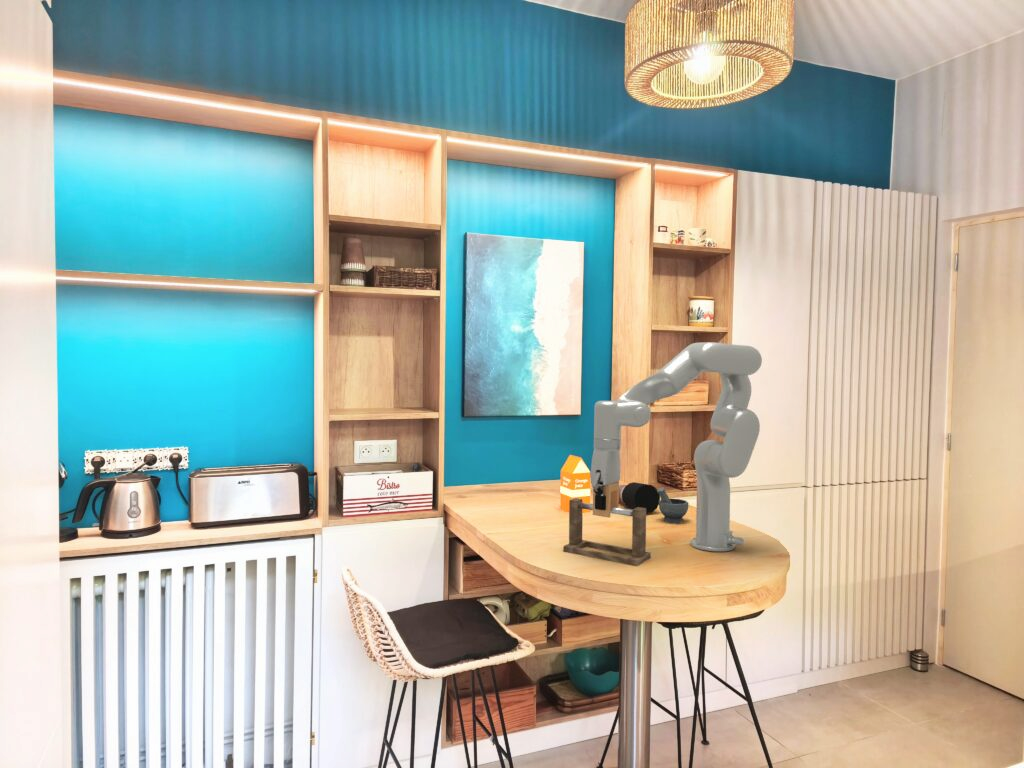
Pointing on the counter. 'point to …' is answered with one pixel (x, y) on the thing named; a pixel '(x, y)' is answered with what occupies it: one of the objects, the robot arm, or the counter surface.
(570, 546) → the stand
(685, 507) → the mortar and pestle
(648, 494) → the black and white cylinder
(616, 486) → the u-slot holder
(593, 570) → the counter surface
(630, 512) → the rail
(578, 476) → the orange juice
